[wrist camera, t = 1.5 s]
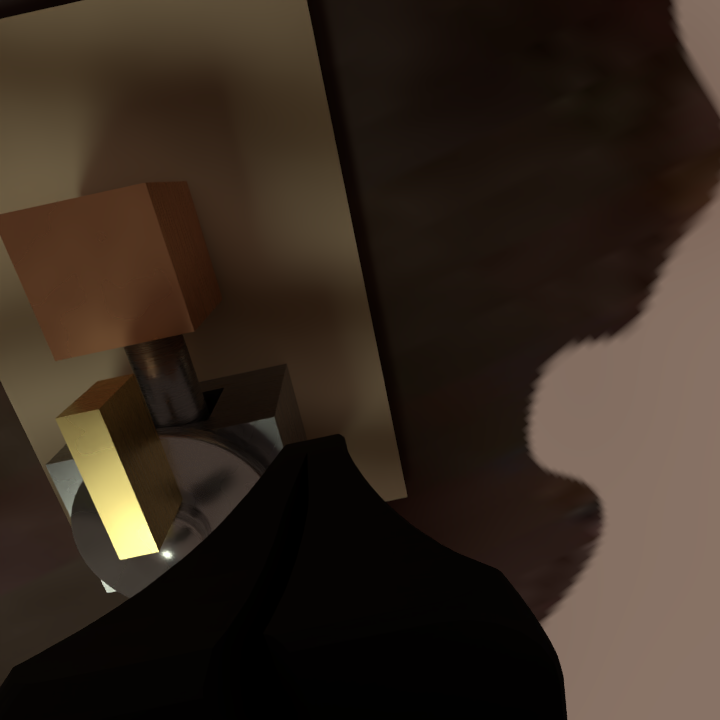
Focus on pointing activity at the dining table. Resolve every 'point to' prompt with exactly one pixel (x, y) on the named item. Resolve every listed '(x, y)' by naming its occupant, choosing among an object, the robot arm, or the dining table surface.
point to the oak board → (197, 199)
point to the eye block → (224, 422)
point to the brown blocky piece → (121, 284)
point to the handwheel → (146, 484)
